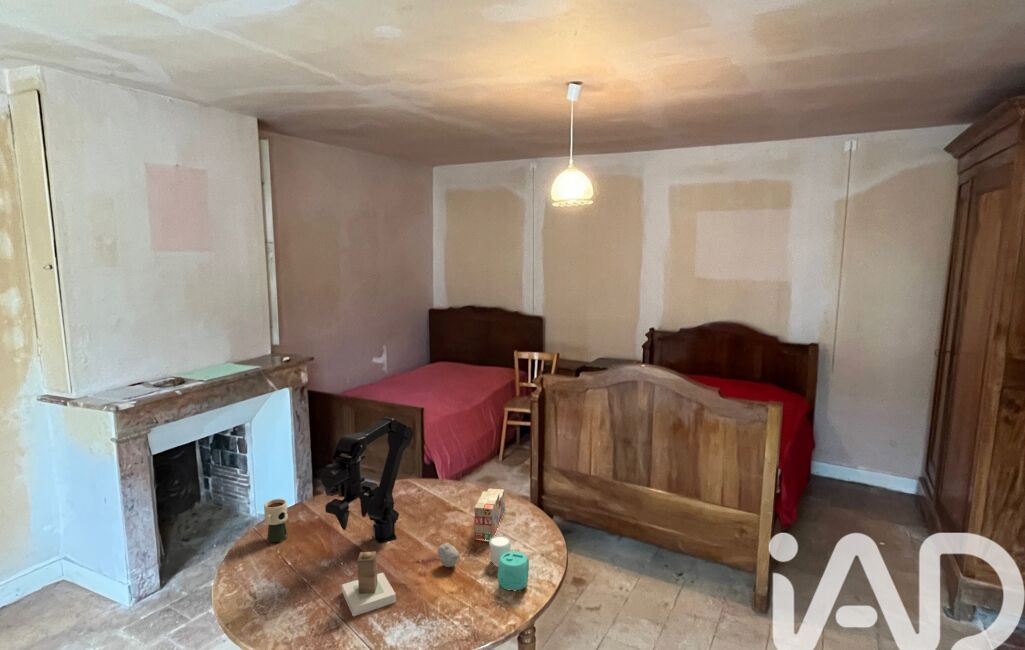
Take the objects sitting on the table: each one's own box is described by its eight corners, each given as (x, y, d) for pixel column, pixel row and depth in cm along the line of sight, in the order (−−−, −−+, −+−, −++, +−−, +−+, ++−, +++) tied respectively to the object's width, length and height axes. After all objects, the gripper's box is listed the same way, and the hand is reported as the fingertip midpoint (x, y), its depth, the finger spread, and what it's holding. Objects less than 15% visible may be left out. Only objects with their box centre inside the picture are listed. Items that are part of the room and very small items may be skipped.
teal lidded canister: (524, 593, 160) (524, 567, 159) (497, 590, 162) (497, 564, 160) (528, 576, 168) (529, 552, 167) (502, 574, 169) (502, 549, 168)
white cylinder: (514, 558, 178) (514, 538, 177) (505, 569, 171) (505, 548, 170) (495, 553, 180) (495, 533, 179) (485, 564, 174) (485, 543, 173)
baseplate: (383, 580, 166) (382, 572, 166) (396, 602, 156) (395, 593, 156) (342, 592, 160) (341, 584, 160) (353, 616, 150) (352, 607, 150)
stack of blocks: (488, 511, 209) (488, 480, 207) (504, 512, 208) (504, 481, 206) (474, 541, 188) (474, 506, 187) (492, 542, 187) (492, 508, 185)
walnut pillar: (361, 584, 160) (360, 550, 158) (377, 583, 160) (375, 549, 159) (358, 594, 155) (357, 559, 154) (374, 593, 156) (373, 558, 154)
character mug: (279, 548, 184) (277, 511, 182) (259, 547, 184) (256, 510, 182) (295, 531, 195) (293, 496, 193) (275, 530, 195) (273, 495, 193)
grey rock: (444, 558, 178) (444, 537, 177) (463, 563, 175) (463, 542, 174) (433, 568, 172) (433, 547, 171) (453, 573, 169) (452, 552, 168)
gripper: (351, 461, 186) (353, 505, 188) (310, 483, 169) (313, 531, 171) (378, 467, 181) (380, 512, 183) (338, 489, 164) (341, 539, 167)
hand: (354, 522), depth 176 cm, fingers open, 9 cm apart
